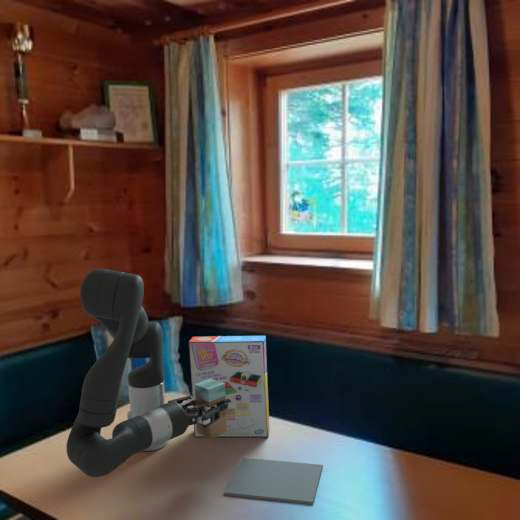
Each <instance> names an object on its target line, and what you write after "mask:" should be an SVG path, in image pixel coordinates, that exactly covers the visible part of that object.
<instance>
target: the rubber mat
mask: <svg viewBox="0 0 520 520" xmlns="http://www.w3.org/2000/svg"><path fill="white" fill-rule="evenodd" d="M323 466H324V465H323V464H319V463H318V464H317V463H307V462H295V461H285V460H284V461H283V460H275V459H274V460H273V459H272V460H271V459H262V458H251V457H242V458H241V459H240V462H239V463H238V465H237V467H236V469H235V471H234V473H233V474H232V476H231V478H230V480H229V481H228V483H227V485H226V487H225V489H224V491H223V495H224V496H233V497H242V498H248V499H249V498H251V499H259V500H260V499H261V500H270V501H276V502H277V501H280V502H287V503H288V502H289V503H297V504H306V505H307V504H308V505H314V503H315V498H316V493H317V490H318V487H319V483H320V479H321V476H322V471H323V468H324V467H323Z"/></svg>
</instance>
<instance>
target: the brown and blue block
mask: <svg viewBox="0 0 520 520" xmlns="http://www.w3.org/2000/svg"><path fill="white" fill-rule="evenodd" d="M195 400H196V402H195V404H196V406H197V405H202V404H205V405H212V404H215V403H217V402H220V401H222V400H226V398H225V383H222V382H220V381H217V380H214V379H208V380H205V381H202V382H200V383H197V384H195ZM201 410H202V416H203V409H201ZM210 410H212V409H208V412H209V411H210ZM202 416H201V417H202ZM196 426H197V433H198V434H200V435H202V436H205V437H204V438H207V439H209V440H212V439H215V438H217V436H219V435H221V434H223V433H225V432H227V425H226V410H224V411H221V412H220V419H219V420H217V421H216V422H214V423H213V424H211V425H210V426H208V427H207V428H203V427H202V424H201V423H197V424H196Z"/></svg>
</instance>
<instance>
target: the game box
mask: <svg viewBox="0 0 520 520" xmlns="http://www.w3.org/2000/svg"><path fill="white" fill-rule="evenodd" d="M188 349H189V350H188V351H189V366H190V381H191V383H190V384H191V398H194V397H195V384H197V383H200V382H202V381H205V380H208V379H214V380H217V381H220V382H222V383H225V398H226V400H228V408H227V409H226V425H227V432H225V433H223V434H221V435H219V436H217V437H219V438H221V437H223V438H253V437H254V438H256V437H257V438H268V437H269V436H270V411H269V409H270V407H269V387H268V363H267V362H268V360H267V358H268V357H267V336H266V335H225V336H224V335H215V336H214V335H212V336H211V335H209V336H206V335H205V336H203V335H202V336H192V337H191V339H190V340H189V341H188ZM193 435H194V437H196V438H197V437H199V438H200V437H202V438H203V437H204V438H206V437H205V436H202V435H200V434H198V433H197V426H196V424H194V425H193ZM217 437H216V438H217Z"/></svg>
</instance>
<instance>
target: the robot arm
mask: <svg viewBox="0 0 520 520" xmlns="http://www.w3.org/2000/svg"><path fill="white" fill-rule="evenodd" d="M144 285H145V283H144V281H143V278H142V277H141V276H140V275H139V274H134V273H131V272H129V273H128V272H123V271H119V270H112V269H106V268H97V269H96V268H95V269H93V270H91V271H89V272H88V273H87V274H86V275H85V276H84V279H83V280H82V282H81V285H80V289H79V290H80V291H79V298H80V303H81V307H82V310H83V311H84V313H85V314H86V315H88V316H89V317H91V318H94V319H95V320H96V321H98V322H99V324H100V325H102V326H103V327H104V329H105V330H106V331H107V332H108V333H109V335H110V336H111V337H112V339H113V340H112V342H111V343H110V345H109V346H108V347H107V348H106V350H105V351H104V352H103V354H102V355H101V356H99V358H97V360H96V361H95V362H94V364H93V365H92V366H91V367H90V369H89V370H88V371H87V374H86V375H85V377H84V380H83V383H82V388H81V394H80V402H79V408H78V414H77V415H76V418H75V420H74V421H73V425H72V427H71V430H70V432H69V435H68V437H67V441H66V455H67V458H68V459H69V461H70V462H71V463H72V464H73V465H74V466H76V467H77V469H79V470H80V471H81V472H82V473H84V474H85V475H86V476H88V477H90V478H100V477H101V478H102V477H105V476H107V475H108V474H110V473H112V472H114V471H115V470H116V469H117V468H119V467H120V466H121V465H122V464H123V463H125V462H126V461H127V460H128V459H129V458H131V457H132V456H133V455H135V454H138V453H140V452H150V451H151V452H152V451H157V450H159V449H162V448H163V447H165V446H166V445H167V444H168V442H169V441H170V440H172V439H175V438H177V437H181V436H182V435H184V434H185V433H186V431H187V430H188V428H189V426H192V425H193V426H194V424H197V423H201V424H202V427H203V428H207V427H208V426H210V425H211V424H213V423H214V422H216V421H217V420H219V419H220V412H221V411H224V410H226V409H227V408H228V400H222V401H220V402H217V403H215V404H212V405H205V404H202V405H197V406H196V404H195V402H196V400H195V397H194V398H192V395H186V396H182V397H178V398H175V399H170V400H168V401H167V403H166V396H165V395H166V394H165V380H164V379H165V377H164V365H163V363H164V362H163V352H164V351H163V338H164V337H163V330H162V326H161V324H160V323H159V322H157V321H150V322H149V317H148V315H147V312H146V310H145V309H144V307H143V301H144V294H145V292H144V291H145V286H144ZM128 359H135V360H136V359H149V361H147V362H146V363H144V364H143V365H141V366H138V367H136V368H134V369H132V370H130V372H129V373H128V374H127V381H128V383H127V384H128V395H129V410H128V412H127V414H126V417H127V419H125V420H124V421H121V422H119V423H118V424H116V425H115V426H114V427H113V430H112V433H111V438H109V439H108V438H107V439H106V438H105V437H104V436H102V435H101V434H102V433H101V431H102V428H107V427H109V426H111V425H112V424H113V423H114V421H115V419H116V416H117V411H118V405H119V404H118V403H119V398H120V390H121V385H122V381H123V375H124V373H125V368H126V365H127V360H128ZM201 409H203V416H202V410H201ZM208 409H212V410H210V411H209V412H208ZM201 416H202V417H201Z"/></svg>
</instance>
